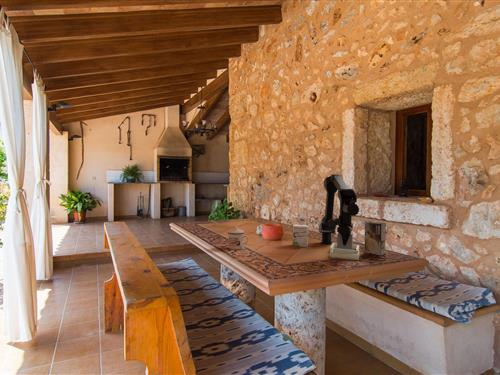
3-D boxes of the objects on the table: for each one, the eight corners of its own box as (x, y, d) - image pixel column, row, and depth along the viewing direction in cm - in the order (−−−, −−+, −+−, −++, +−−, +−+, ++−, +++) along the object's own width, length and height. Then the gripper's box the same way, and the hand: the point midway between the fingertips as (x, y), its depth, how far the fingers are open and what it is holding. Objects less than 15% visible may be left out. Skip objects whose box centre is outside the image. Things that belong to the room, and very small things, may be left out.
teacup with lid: (225, 248, 173) (225, 227, 173) (231, 245, 182) (231, 225, 181) (246, 250, 169) (246, 228, 169) (251, 247, 178) (251, 226, 178)
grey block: (338, 245, 163) (338, 231, 162) (352, 247, 160) (353, 232, 160) (337, 248, 158) (337, 233, 158) (352, 249, 156) (352, 234, 155)
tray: (332, 252, 166) (332, 248, 166) (359, 255, 162) (359, 250, 162) (329, 257, 157) (329, 252, 157) (358, 260, 152) (358, 255, 152)
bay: (332, 247, 180) (333, 242, 180) (359, 249, 175) (359, 244, 175) (329, 252, 168) (330, 247, 168) (358, 254, 163) (358, 250, 162)
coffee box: (386, 253, 166) (386, 222, 166) (381, 255, 162) (382, 224, 161) (368, 250, 173) (369, 221, 172) (363, 252, 168) (364, 222, 167)
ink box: (292, 246, 182) (292, 225, 182) (293, 244, 187) (293, 224, 187) (307, 247, 180) (307, 226, 180) (307, 245, 185) (308, 225, 184)
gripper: (331, 210, 170) (330, 239, 171) (326, 214, 153) (325, 246, 153) (353, 211, 166) (352, 241, 167) (350, 215, 149) (350, 248, 149)
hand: (345, 244), depth 159 cm, fingers closed on grey block, 5 cm apart
